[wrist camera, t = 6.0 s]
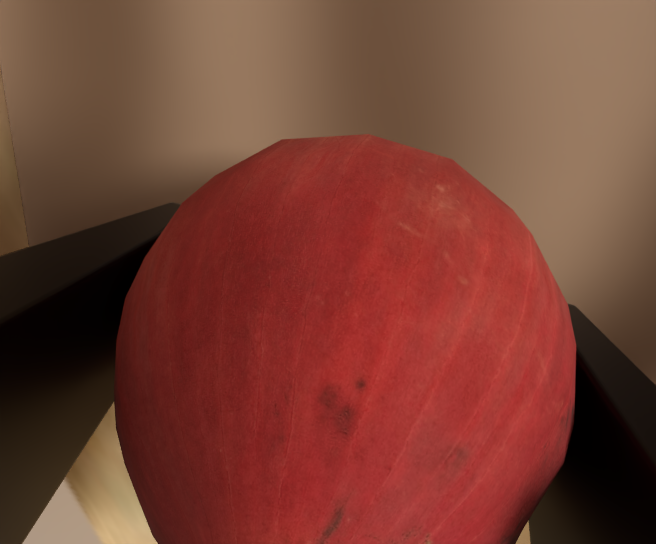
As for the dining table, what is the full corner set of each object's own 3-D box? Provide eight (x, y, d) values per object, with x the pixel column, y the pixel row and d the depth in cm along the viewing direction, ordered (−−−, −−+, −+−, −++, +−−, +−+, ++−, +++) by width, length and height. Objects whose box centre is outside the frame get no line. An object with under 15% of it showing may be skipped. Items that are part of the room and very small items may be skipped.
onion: (610, 220, 10) (920, 883, 3) (391, 383, 13) (328, 889, 6) (350, -13, 8) (2, 314, 2) (177, 231, 12) (-178, 668, 5)
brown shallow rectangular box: (877, -55, 11) (1196, -13, 6) (604, 362, 18) (658, 534, 13) (82, -228, 12) (-167, -307, 7) (109, 234, 19) (-9, 351, 14)
